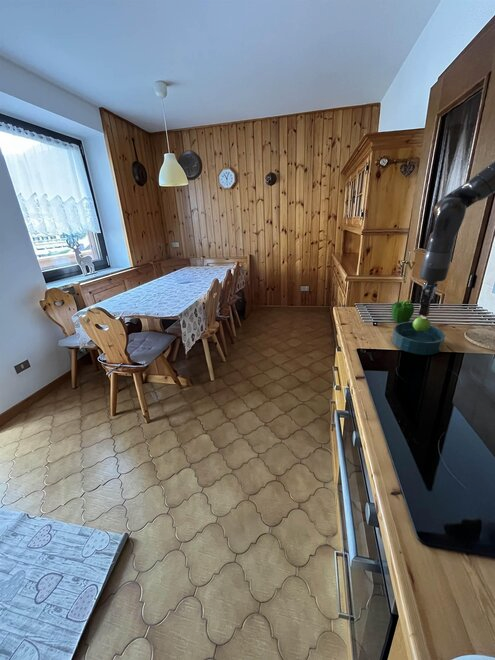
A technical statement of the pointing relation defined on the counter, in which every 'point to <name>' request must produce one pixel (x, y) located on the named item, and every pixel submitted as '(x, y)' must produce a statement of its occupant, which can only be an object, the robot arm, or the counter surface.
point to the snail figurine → (422, 322)
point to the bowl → (417, 339)
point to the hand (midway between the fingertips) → (423, 311)
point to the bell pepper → (402, 311)
